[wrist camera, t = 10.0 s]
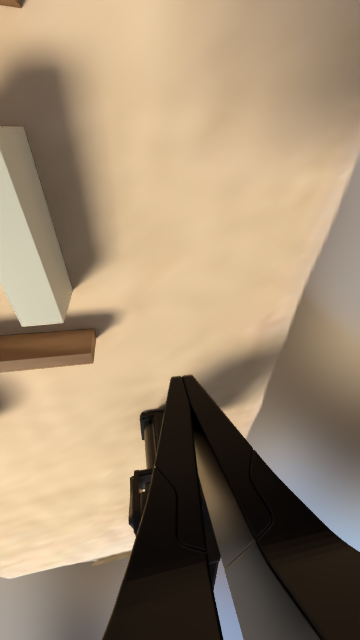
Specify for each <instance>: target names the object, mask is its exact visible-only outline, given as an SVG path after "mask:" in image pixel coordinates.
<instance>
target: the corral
mask: <svg viewBox="0 0 360 640" xmlns="http://www.w3.org/2000/svg"><path fill="white" fill-rule="evenodd" d="M0 5H4V6H11V7H18V8H21V4H20V0H0ZM95 344H96V336H95V331H94V329H84V330H71V331H58V332H45V333H32V334H19V335H6V336H0V373H1V372H11V371H21V370H31V369H41V368H51V367H61V366H71V365H81V364H91V363H93V361H94V352H95Z"/></svg>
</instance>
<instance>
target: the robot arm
mask: <svg viewBox="0 0 360 640" xmlns="http://www.w3.org/2000/svg"><path fill="white" fill-rule="evenodd" d="M140 424H141V434H142V440H145V451H146V465H147V469H145V470H140V471H139V470H135V471H134V476H132V477H131V478H130V506H129V525H130V526H131V527H132V528H133V529H134V534H135V535H136V539H135V542H134V545H133V549H132V552H131V555H130V559H129V562H128V565H127V568H126V571H125V575H124V578H123V581H122V585H121V587H120V590H119V593H118V597H117V599H116V602H115V605H114V608H113V610H112V613H111V616H110V619H109V621H108V624H107V627H106V629H105V632H104V635H103V637H102V640H223V636H222V631H221V626H220V621H219V616H218V611H217V607H216V602H215V597H214V592H213V590H214V584H215V579H216V574H217V568H218V563H219V561H220V557H221V559H222V562H223V566H224V568H225V573H226V577H227V580H228V584H229V588H230V591H231V595H232V599H233V602H234V606H235V610H236V613H237V617H238V620H239V624H240V628H241V631H242V635H243V639H244V640H360V552H359V551H357V550H355V549H354V548H353V547H351V546H350V545H348V544H347V543H346V542H344V541H343V540H342V539H340V538H339V537H338V536H337V535H336V534H334V533H333V532H332V531H331V530H330V529H329V528H328V527H327V526H326V525H325V524H324V523H323V522H322V521H321V520H320V519H319V518H318V517H317V516H316V515H315V514H314V513H313V512H312V511H311V510H310V509H309V508H308V507H307V506H306V505H305V504H304V503H303V502H302V501H301V500H300V499H299V498H298V497H297V496H296V495H295V494H294V493H293V492H292V491H291V490H290V489H289V488H288V487H287V486H286V485H285V484H284V483H283V482H282V481H281V480H280V479H279V478H278V477H277V476H276V474H275V473H274V472H273V471H272V470H271V469H270V468H269V467H268V465H267V464H266V463H265V462H264V461H263V460H262V458H261V457H260V456H259V455H258V454H257V452H256V451H255V450H253V448H252V446H251V445H250V444H249V443H248V442H247V440H246V439H245V438H244V437H243V436H242V434H241V433H240V432H239V431H238V430H237V428H236V427H235V426H234V425H233V423H232V422H231V421H230V420H229V419H228V417H227V416H226V415H225V414H224V413H223V411H222V410H221V409H220V408H219V407H218V405H217V404H216V403H215V402H214V401H213V399H212V398H211V397H210V396H209V395H208V393H207V392H206V391H205V390H204V388H203V387H202V386H201V385H200V384H199V382H198V381H197V380H196V379H195V378H194V376H193V375H184V376H182V377H181V376H175V377H171V380H170V385H169V390H168V396H167V401H166V406H165V411H158V412H151V413H144V414H141V415H140ZM143 489H145V492H143Z"/></svg>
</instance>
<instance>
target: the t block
mask: <svg viewBox="0 0 360 640" xmlns="http://www.w3.org/2000/svg"><path fill="white" fill-rule="evenodd" d="M0 285H1V287H2V289H3V291H4V293H5V294H6V296H7V298H8V300H9V302H10V304H11V306H12V308H13V310H14V312H15V314H16V316H17V318H18V320H19V322H20V324H21V326H22V327H26V326H37V325H47V324H58V323H64V320H65V316H66V313H67V309H68V306H69V302H70V299H71V295H72V292H73V289H72V286H71V283H70V279H69V276H68V273H67V269H66V266H65V263H64V259H63V256H62V253H61V249H60V246H59V243H58V239H57V236H56V233H55V230H54V226H53V223H52V220H51V216H50V213H49V210H48V206H47V203H46V200H45V196H44V193H43V190H42V186H41V183H40V180H39V176H38V173H37V170H36V166H35V163H34V160H33V156H32V153H31V150H30V146H29V143H28V140H27V136H26V133H25V130H24V127H21V126H0Z"/></svg>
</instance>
